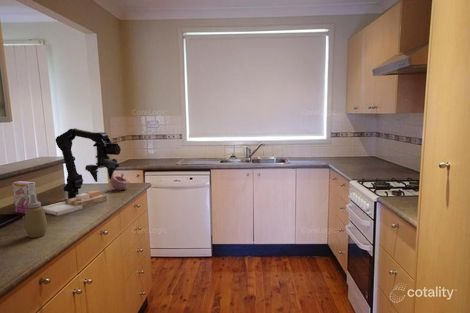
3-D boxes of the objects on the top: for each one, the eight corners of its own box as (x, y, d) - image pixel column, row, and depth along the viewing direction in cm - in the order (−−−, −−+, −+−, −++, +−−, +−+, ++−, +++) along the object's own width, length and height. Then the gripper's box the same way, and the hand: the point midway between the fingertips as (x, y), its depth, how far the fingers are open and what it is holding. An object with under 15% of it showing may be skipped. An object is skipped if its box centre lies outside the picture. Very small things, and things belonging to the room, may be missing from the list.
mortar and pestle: (126, 192, 206) (125, 175, 204) (108, 192, 206) (107, 175, 204) (132, 187, 218) (131, 171, 216) (115, 187, 218) (114, 171, 216)
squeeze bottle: (32, 232, 136) (28, 192, 134) (51, 231, 137) (48, 191, 134) (21, 239, 128) (17, 197, 126) (42, 238, 129) (38, 196, 126)
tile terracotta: (87, 196, 184) (86, 192, 183) (94, 194, 188) (94, 190, 188) (92, 197, 181) (92, 193, 181) (99, 195, 186) (99, 191, 185)
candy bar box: (14, 212, 163) (11, 182, 161) (23, 210, 168) (20, 180, 166) (29, 215, 160) (26, 184, 157) (38, 212, 164) (36, 181, 162)
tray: (39, 211, 166) (39, 207, 165) (64, 204, 178) (64, 201, 178) (57, 215, 158) (57, 212, 158) (82, 208, 170) (82, 205, 170)
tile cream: (76, 199, 178) (75, 195, 177) (84, 197, 182) (83, 193, 182) (81, 200, 175) (81, 196, 175) (89, 198, 180) (89, 194, 179)
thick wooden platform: (66, 204, 178) (66, 199, 177) (91, 198, 192) (91, 193, 191) (82, 208, 171) (81, 202, 171) (106, 200, 185) (106, 196, 184)
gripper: (96, 157, 167) (97, 185, 170) (124, 153, 183) (125, 179, 185) (84, 155, 173) (85, 182, 175) (112, 152, 189) (113, 177, 191)
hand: (103, 180), depth 182 cm, fingers open, 9 cm apart
